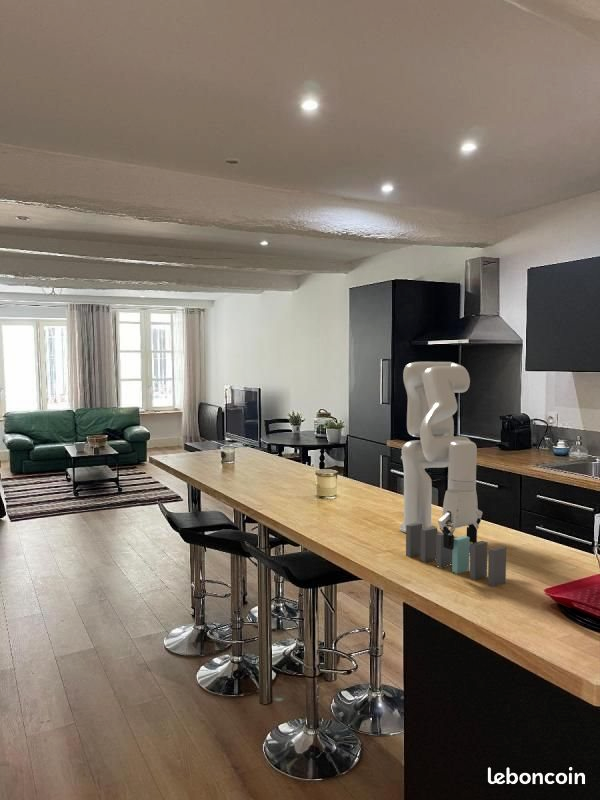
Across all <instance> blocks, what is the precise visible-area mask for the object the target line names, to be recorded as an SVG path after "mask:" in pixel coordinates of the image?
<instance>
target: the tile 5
mask: <svg viewBox="0 0 600 800" xmlns="http://www.w3.org/2000/svg"><path fill="white" fill-rule="evenodd" d="M486 576H487V577H488V542H487V541H484V540H480V541H477V542H475V543H472V542H470V554H469V579H470V578H471V580H473V579H474V580H473V581H476V579H477V580H480V579H483V577H484V578H487V577H486Z"/></svg>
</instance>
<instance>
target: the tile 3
mask: <svg viewBox="0 0 600 800" xmlns="http://www.w3.org/2000/svg"><path fill="white" fill-rule="evenodd" d="M452 535H454V533H453V534H452ZM443 540H444V534H443V533H442V532H439V533H438V532H437V534H436V560H435V567H436V566H439V567H443V568H445V567H444V566H447V565H450V564H452V550H450V549H447V548H445V547H444V546H443ZM450 566H451V565H450ZM439 567H438V568H439ZM447 567H448V566H447Z"/></svg>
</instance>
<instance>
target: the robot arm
mask: <svg viewBox="0 0 600 800" xmlns="http://www.w3.org/2000/svg"><path fill="white" fill-rule="evenodd" d="M402 375H403V376H402V378H403V384H404V388H405V391H406V395H407V407H406V408H407V411H406V429H407V433H408V434H409V435H410V436H412V437H416V438H420V439H419V440H418V439H417V440H415V439H414V440H409V441H407V442H405V443H404V444H403V445H402V447H401V458H402V459H401V460H402V465H403V466H402V467H403V523H401V524H400V525H398V528H399V531H400V532H402V533H405V534H406V525H409V524H413V523H421V524H422V529H425V528H429V527H435V528H436V526H434V525H433V524H432V493H433V492H432V490H433V489H432V486H433V485H432V483H433V482H432V478H431V476H430V475H429V474H428V473H427V472H426V470H425V469H429V468H433V469H434V468H438V469H439V468H447V469H448V470H447V471H448V472H447V490H445V494H444V498H443V505H442V516H441V517H440V518H439V519H438V521H437V523H438V526H439V529H440V531H441V533H443V534H444V540H443V546H444V547H445V548H447V549H450V550H453V549H454V538H455V536H454V532H455V530H456V529H457V528H462V527H466V526H467V527H466V536H467V537H470V543H475V542H478V529H479V528H480V526H479V524H481V521H482V520H481V519H482V517H483V511H482V510H480V509H478V495H477V489H476V488H477V458H478V457H477V456H478V455H477V454H478V453H477V452H478V450H477V444H476V443H475V442H474V441H472V440H471V439H470V438H468V437H466V436H454V433H455V429H454V428H455V425H454V423H455V421H454V417H453V416H454V415H455V413H456V412H457V411H458V402H457V398H456V396H455V395H456V394H455V393H460V394H461V393H465V392H467V391H468V389H469V388H470V385H471V384H470V383H471V378H470V374H469V372H468V370H467V369H466V367H464V366H463V365H462V364H461V365H460V364H458V363H455V362H452V361H414V362H410V363H408V364H406V365H405V367H404V369H403V373H402ZM452 534H453V535H452Z"/></svg>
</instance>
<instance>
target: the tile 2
mask: <svg viewBox="0 0 600 800" xmlns="http://www.w3.org/2000/svg"><path fill="white" fill-rule="evenodd" d="M436 534H438V527H436V526H435V527H429V528H425V529H421V555H420V562H421V563H425V562H426V563H429V562H433V561H436V560H435V559H436ZM432 560H433V561H432Z"/></svg>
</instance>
